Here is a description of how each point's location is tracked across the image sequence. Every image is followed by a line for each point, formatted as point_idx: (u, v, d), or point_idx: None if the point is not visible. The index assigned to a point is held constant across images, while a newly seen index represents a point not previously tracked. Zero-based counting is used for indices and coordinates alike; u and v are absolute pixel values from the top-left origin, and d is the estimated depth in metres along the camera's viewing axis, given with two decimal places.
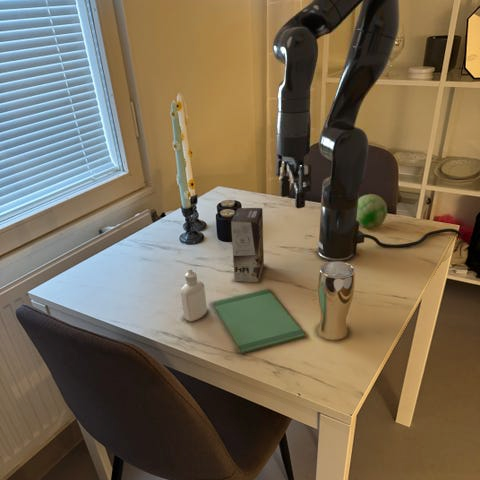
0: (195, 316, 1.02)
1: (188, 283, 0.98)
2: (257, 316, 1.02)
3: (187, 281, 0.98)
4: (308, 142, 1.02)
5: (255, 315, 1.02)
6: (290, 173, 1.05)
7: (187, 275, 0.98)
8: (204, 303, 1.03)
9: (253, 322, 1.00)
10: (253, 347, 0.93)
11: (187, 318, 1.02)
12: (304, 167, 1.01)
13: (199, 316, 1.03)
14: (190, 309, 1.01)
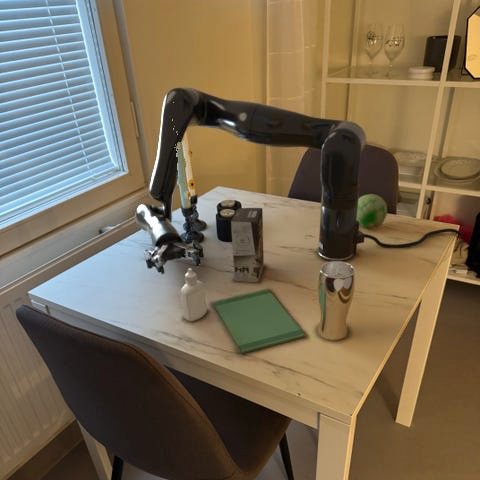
0: (195, 316, 1.02)
1: (188, 283, 0.98)
2: (257, 316, 1.02)
3: (187, 281, 0.98)
4: (155, 236, 1.18)
5: (255, 315, 1.02)
6: None
7: (187, 275, 0.98)
8: (204, 303, 1.03)
9: (253, 322, 1.00)
10: (253, 347, 0.93)
11: (187, 318, 1.02)
12: None
13: (199, 316, 1.03)
14: (190, 309, 1.01)
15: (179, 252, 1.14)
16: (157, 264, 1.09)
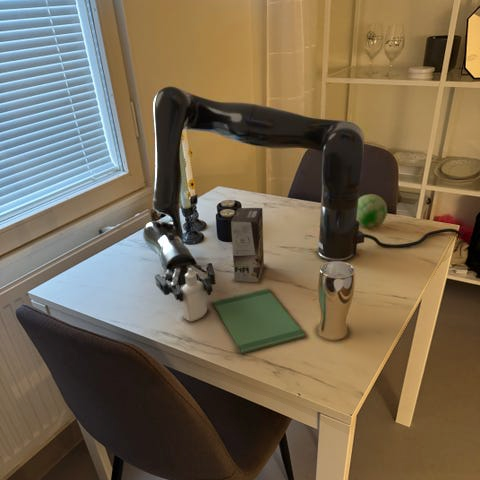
0: (195, 316, 1.02)
1: (188, 283, 0.98)
2: (257, 316, 1.02)
3: (187, 281, 0.98)
4: (166, 258, 1.08)
5: (255, 315, 1.02)
6: None
7: (187, 275, 0.98)
8: (204, 303, 1.03)
9: (253, 322, 1.00)
10: (253, 347, 0.93)
11: (187, 318, 1.02)
12: None
13: (199, 316, 1.03)
14: (190, 309, 1.01)
15: None
16: (175, 291, 0.99)
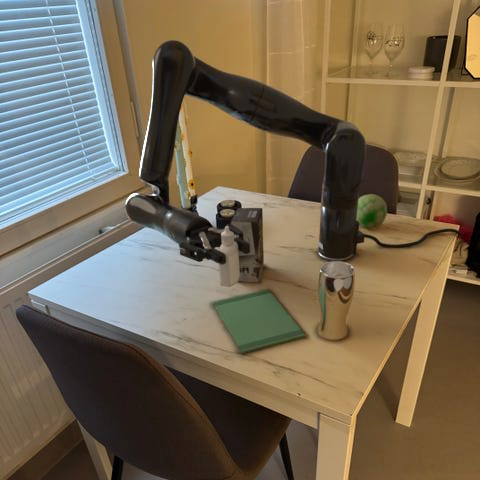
0: (234, 280, 0.93)
1: (226, 243, 0.89)
2: (257, 316, 1.02)
3: (225, 241, 0.89)
4: (179, 225, 0.96)
5: (255, 315, 1.02)
6: None
7: (225, 234, 0.89)
8: None
9: (253, 322, 1.00)
10: (253, 347, 0.93)
11: (226, 284, 0.93)
12: None
13: (237, 280, 0.94)
14: (231, 272, 0.92)
15: (220, 238, 0.94)
16: (214, 254, 0.89)
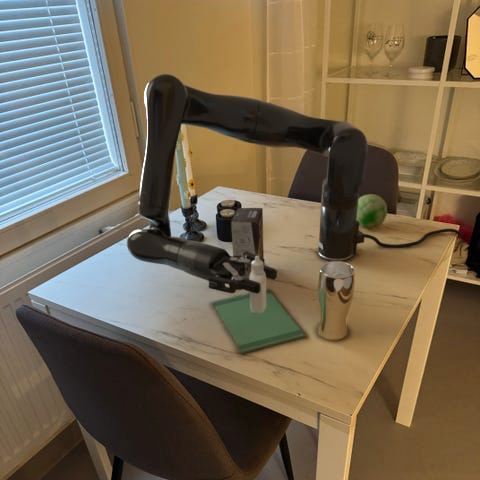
0: (264, 306, 0.96)
1: (258, 272, 0.92)
2: (257, 316, 1.02)
3: (257, 270, 0.91)
4: (200, 259, 0.97)
5: (255, 315, 1.02)
6: None
7: (256, 264, 0.91)
8: None
9: (253, 322, 1.00)
10: (253, 347, 0.93)
11: (258, 311, 0.95)
12: (208, 284, 0.93)
13: (265, 305, 0.97)
14: (263, 299, 0.94)
15: (244, 267, 0.96)
16: (248, 284, 0.91)
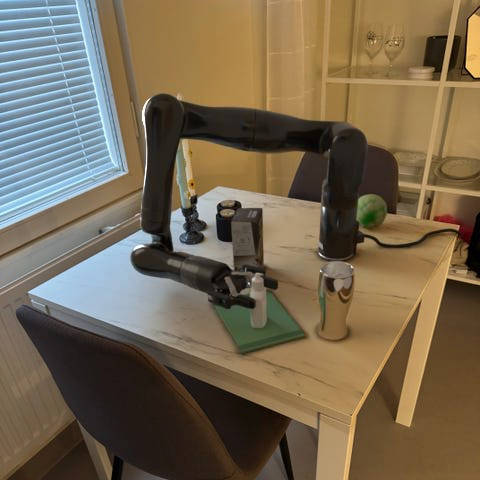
0: (265, 321, 0.98)
1: (258, 289, 0.94)
2: None
3: (257, 287, 0.94)
4: (202, 273, 0.99)
5: None
6: None
7: (256, 281, 0.93)
8: None
9: None
10: (253, 347, 0.93)
11: (259, 326, 0.97)
12: None
13: (266, 320, 0.99)
14: (263, 315, 0.96)
15: (245, 281, 0.98)
16: (243, 300, 0.92)
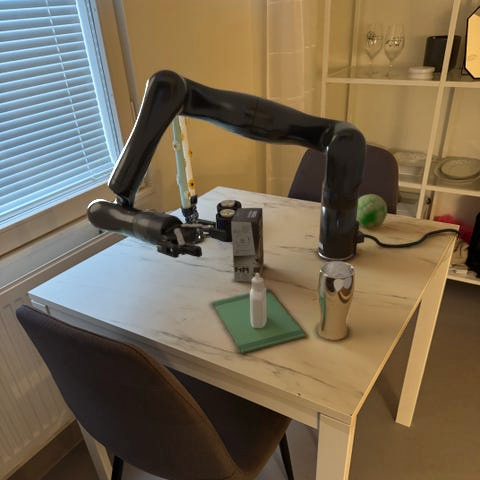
0: (265, 321, 0.98)
1: (258, 289, 0.94)
2: None
3: (257, 287, 0.94)
4: (153, 225, 1.00)
5: None
6: None
7: (256, 281, 0.93)
8: None
9: None
10: (253, 347, 0.93)
11: (259, 326, 0.97)
12: None
13: (266, 320, 0.99)
14: (263, 315, 0.96)
15: (194, 233, 1.00)
16: (190, 248, 0.94)
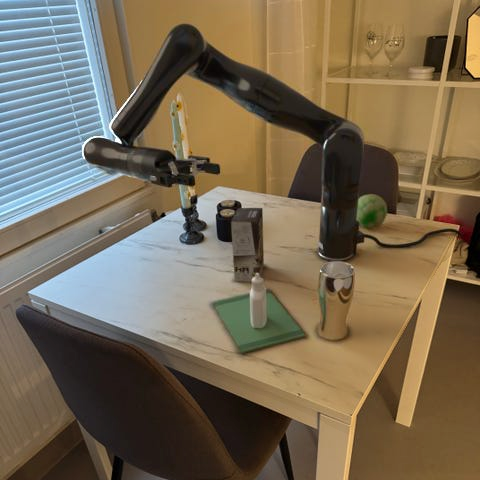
0: (265, 321, 0.98)
1: (258, 289, 0.94)
2: None
3: (257, 287, 0.94)
4: (147, 159, 1.02)
5: None
6: None
7: (256, 281, 0.93)
8: None
9: None
10: (253, 347, 0.93)
11: (259, 326, 0.97)
12: (150, 179, 0.99)
13: (266, 320, 0.99)
14: (263, 315, 0.96)
15: (188, 166, 1.01)
16: (183, 177, 0.95)
